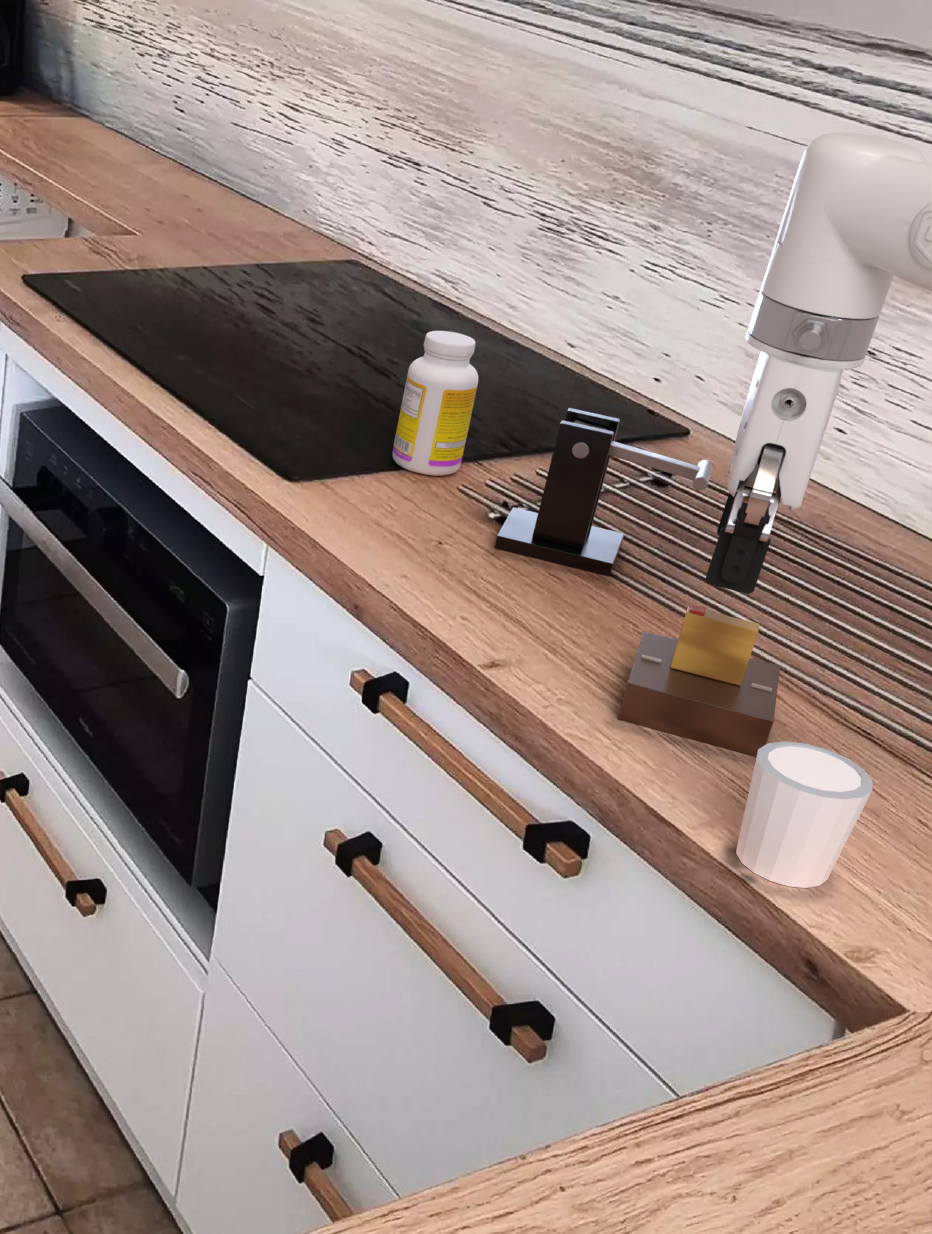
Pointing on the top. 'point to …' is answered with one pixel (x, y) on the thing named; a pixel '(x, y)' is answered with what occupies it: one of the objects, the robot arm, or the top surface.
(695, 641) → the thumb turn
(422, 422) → the supplement bottle
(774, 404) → the robot arm
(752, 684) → the plate
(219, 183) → the top surface
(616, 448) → the door handle
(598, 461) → the handle bracket
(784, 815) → the shot glass
